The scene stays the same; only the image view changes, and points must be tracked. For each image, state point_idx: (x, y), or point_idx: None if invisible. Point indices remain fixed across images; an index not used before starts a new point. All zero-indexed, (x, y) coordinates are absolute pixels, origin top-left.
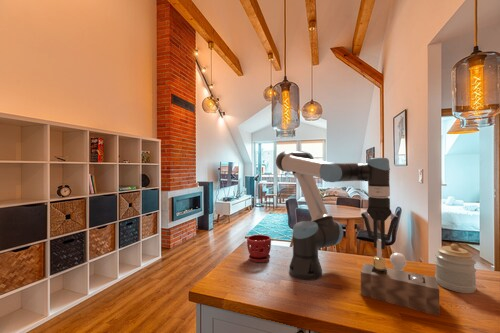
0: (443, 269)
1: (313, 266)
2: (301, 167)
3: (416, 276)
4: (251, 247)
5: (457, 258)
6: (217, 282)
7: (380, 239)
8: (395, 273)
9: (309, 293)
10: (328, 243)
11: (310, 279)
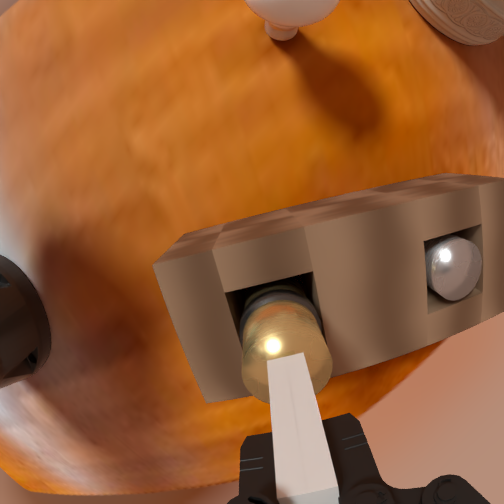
0: (477, 4)
1: (17, 363)
2: None
3: (459, 255)
4: None
5: None
6: (5, 461)
7: (323, 494)
8: (366, 285)
9: (109, 425)
10: None
11: (46, 358)
